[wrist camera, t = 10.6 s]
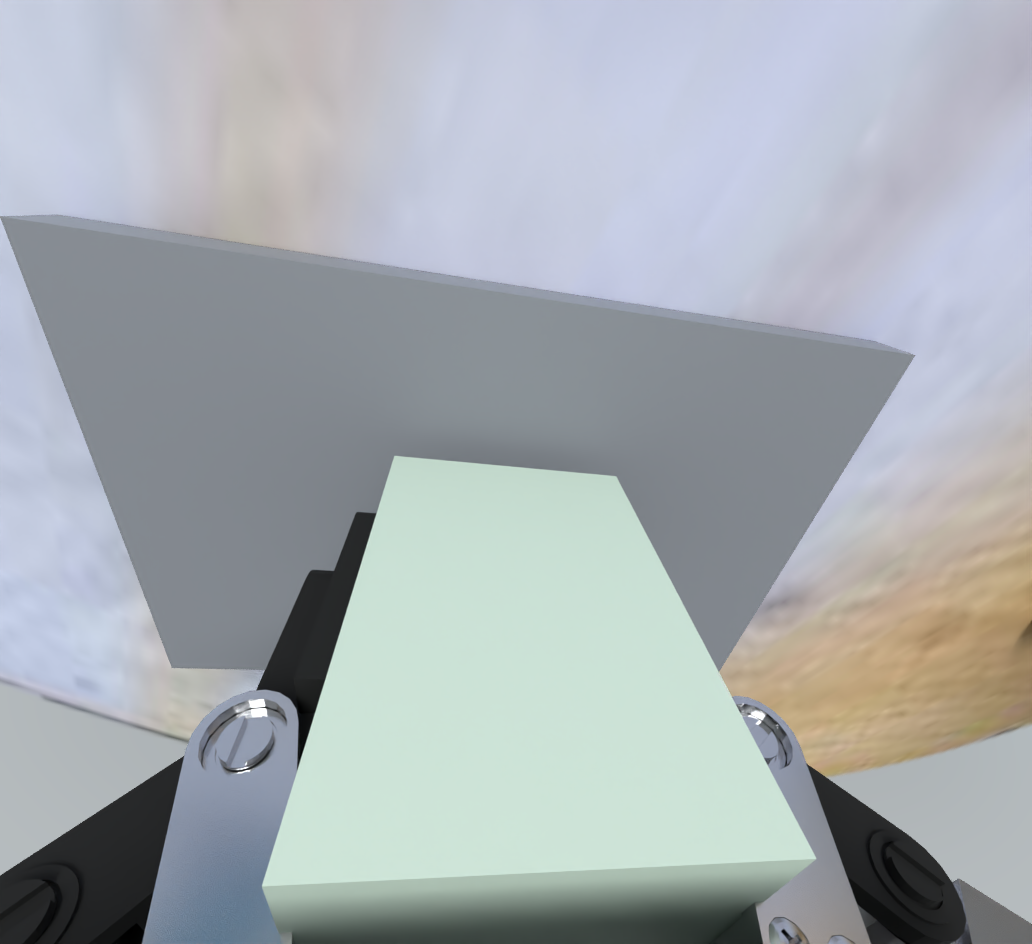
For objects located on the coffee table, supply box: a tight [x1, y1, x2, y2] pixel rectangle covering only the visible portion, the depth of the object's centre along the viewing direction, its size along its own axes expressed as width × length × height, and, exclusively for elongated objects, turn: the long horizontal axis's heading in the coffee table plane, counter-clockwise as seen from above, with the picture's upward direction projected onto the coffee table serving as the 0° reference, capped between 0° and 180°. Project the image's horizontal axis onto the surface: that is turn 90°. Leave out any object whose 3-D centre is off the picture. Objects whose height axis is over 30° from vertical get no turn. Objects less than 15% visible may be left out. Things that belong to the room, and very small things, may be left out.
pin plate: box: [0, 215, 915, 672], centre depth 11 cm, size 18×12×4 cm, turn 81°
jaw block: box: [262, 456, 816, 944], centre depth 8 cm, size 5×5×7 cm
